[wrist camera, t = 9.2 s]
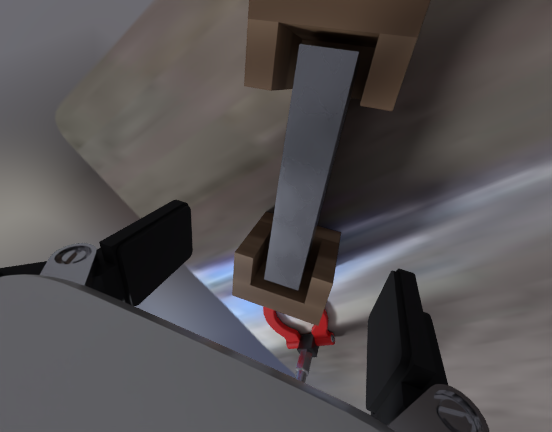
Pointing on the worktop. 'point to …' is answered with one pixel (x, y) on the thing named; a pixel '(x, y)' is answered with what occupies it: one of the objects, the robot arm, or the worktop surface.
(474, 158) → the worktop surface
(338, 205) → the worktop surface
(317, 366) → the worktop surface
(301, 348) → the tow hook
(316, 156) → the rail
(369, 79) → the posts
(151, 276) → the robot arm
